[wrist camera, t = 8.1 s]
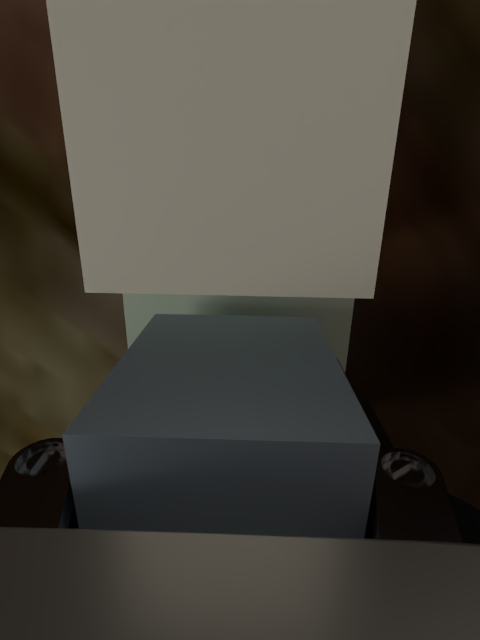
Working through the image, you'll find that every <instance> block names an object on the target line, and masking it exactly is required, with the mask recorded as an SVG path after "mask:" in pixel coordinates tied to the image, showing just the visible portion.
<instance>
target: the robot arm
mask: <svg viewBox="0 0 480 640" xmlns="http://www.w3.org/2000/svg"><path fill="white" fill-rule="evenodd" d="M337 360H338V359H337ZM338 362H339V360H338ZM339 364H340V362H339ZM340 366H341V364H340ZM341 368H342V366H341ZM342 370H343V368H342ZM343 372H344V370H343ZM344 374H345V372H344ZM345 376H346V374H345ZM346 378H347V376H346ZM347 380H348V378H347ZM348 382H349V380H348ZM349 384H350V382H349ZM350 386H351V384H350ZM351 388H352V390H353V391H354V389H353V387H352V386H351ZM354 393H355V391H354ZM355 395H356V393H355ZM356 397H357V395H356ZM357 399H358V401H359V403H360V405H361V407H362V409H363V411H364V413H365V415H366V417H367V419H368V421H369V422H370V424H371V426H372V428H373V430H374V432H375V434H376V436H377V438H378V440H379V442H380V449H379V455H378V461H377V467H376V472H375V478H374V484H373V490H372V496H371V501H370V507H369V513H368V519H367V524H366V530H365V536H364V539H363V538H337V537H311V536H284V535H256V534H227V533H197V532H166V531H134V530H100V529H79V526H78V520H77V515H76V509H75V504H74V498H73V493H72V487H71V482H70V476H69V471H68V465H67V459H66V454H65V448H64V443H63V438H49V439H45V440H40V441H38V442H35V443H32V444H30V445H28V446H26V447H25V448H23V449H21V450H20V451H19V452H17V453H16V454H15V455H14V456H13V457H12V458H11V460H10V461H9V463H8V465H7V467H6V469H5V471H4V473H3V475H2V477H1V479H0V640H480V510H479V509H477V508H475V507H473V506H471V505H469V504H467V503H465V502H464V501H462V500H460V499H458V498H456V497H454V496H452V495H451V494H449V493H448V492H447V488H446V485H445V482H444V478H443V475H442V473H441V471H440V470H439V468H438V467H437V466H436V465H435V464H434V463H433V462H432V461H431V460H429V459H428V458H426V457H425V456H423V455H421V454H419V453H417V452H415V451H411V450H408V449H404V448H395V447H393V445H392V443H391V441H390V440H389V438H388V436H387V434H386V432H385V431H384V429H383V427H382V425H381V423H380V422H379V420H378V418H377V416H376V414H375V413H374V411H373V409H372V407H371V406H370V404H369V402H368V401H367V399H365V398H358V397H357Z"/></svg>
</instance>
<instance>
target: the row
mask: <svg viewBox="0 0 480 640" xmlns="http://www.w3.org/2000/svg"><path fill="white" fill-rule="evenodd" d="M46 4H47V11H48V19H49V26H50V33H51V41H52V48H53V56H54V63H55V71H56V78H57V86H58V93H59V101H60V108H61V116H62V123H63V131H64V138H65V146H66V153H67V161H68V168H69V176H70V183H71V190H72V198H73V205H74V213H75V220H76V228H77V235H78V243H79V250H80V258H81V265H82V273H83V280H84V288H85V293H123V302H124V312H125V322H126V333H127V343H128V349H129V347H130V346H131V345H132V343H133V342H134V341H135V339H136V338H137V337H138V336H139V334H140V333H141V332H142V330H143V329H144V328H145V326H146V325H147V324H148V323H149V321H150V320H151V319H152V317H153V316H154V315H155V314H189V315H237V316H285V317H315V318H316V320H317V322H318V324H319V326H320V327H321V329H322V331H323V333H324V335H325V337H326V339H327V341H328V343H329V345H330V347H331V349H332V351H333V353H334V355H335V357H336V358H337V359H338V360H339V362H340V364H341V366H342V368H343V370H344V372H345V370H346V362H347V354H348V346H349V339H350V331H351V323H352V315H353V307H354V299H355V298H367V299H373V298H374V291H375V284H376V277H377V270H378V263H379V256H380V250H381V243H382V236H383V229H384V222H385V215H386V208H387V201H388V194H389V187H390V180H391V173H392V166H393V159H394V152H395V146H396V139H397V132H398V125H399V118H400V111H401V104H402V97H403V90H404V83H405V76H406V69H407V62H408V55H409V48H410V42H411V35H412V28H413V21H414V14H415V7H416V0H46Z"/></svg>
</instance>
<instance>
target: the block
mask: <svg viewBox="0 0 480 640" xmlns="http://www.w3.org/2000/svg"><path fill="white" fill-rule="evenodd" d="M62 437H63V443H64V448H65V454H66V459H67V465H68V471H69V476H70V482H71V487H72V493H73V498H74V504H75V509H76V515H77V520H78V526H79V529H100V530H134V531H166V532H197V533H227V534H256V535H284V536H311V537H337V538H363V539H364V536H365V530H366V524H367V519H368V513H369V507H370V501H371V496H372V490H373V484H374V478H375V472H376V467H377V461H378V455H379V449H380V442H379V440H378V438H377V436H376V434H375V432H374V430H373V428H372V426H371V424H370V422H369V421H368V419H367V417H366V415H365V413H364V411H363V409H362V407H361V405H360V403H359V401H358V399H357V397H356V395H355V393H354V391H353V390H352V388H351V386H350V384H349V382H348V380H347V378H346V376H345V374H344V372H343V370H342V368H341V366H340V364H339V362H338V360H337V358H336V357H335V355H334V353H333V351H332V349H331V347H330V345H329V343H328V341H327V339H326V337H325V335H324V333H323V331H322V329H321V327H320V326H319V324H318V322H317V320H316V318H315V317H285V316H237V315H189V314H155V315H154V316H153V317H152V319H151V320H150V321H149V323H148V324H147V325H146V326H145V328H144V329H143V330H142V332H141V333H140V334H139V336H138V337H137V338H136V339H135V341H134V342H133V343H132V345H131V346H130V347H129V349H128V350H127V351H126V352H125V354H124V355H123V356H122V358H121V359H120V360H119V362H118V363H117V364H116V365H115V367H114V368H113V369H112V371H111V372H110V373H109V375H108V376H107V377H106V378H105V380H104V381H103V382H102V384H101V385H100V386H99V388H98V389H97V390H96V391H95V393H94V394H93V395H92V397H91V398H90V399H89V401H88V402H87V403H86V404H85V406H84V407H83V408H82V410H81V411H80V412H79V414H78V415H77V416H76V417H75V419H74V420H73V421H72V423H71V424H70V425H69V427H68V428H67V429H66V430H65V432H64V433H63V434H62Z"/></svg>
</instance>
